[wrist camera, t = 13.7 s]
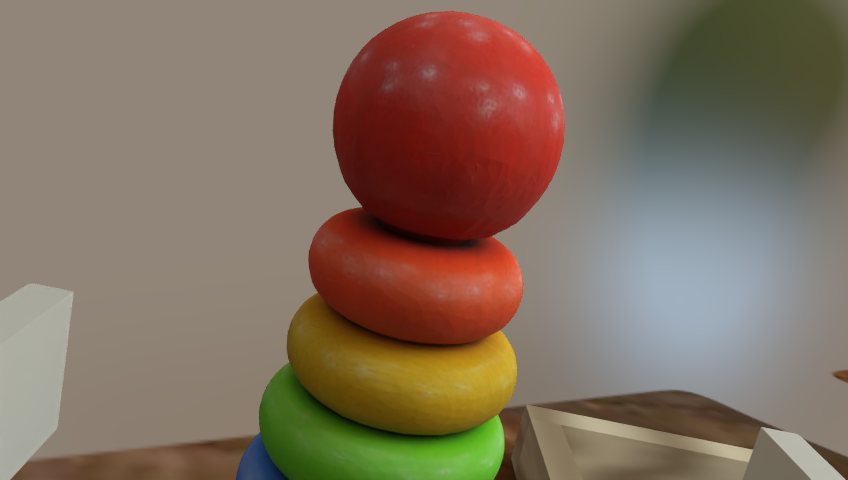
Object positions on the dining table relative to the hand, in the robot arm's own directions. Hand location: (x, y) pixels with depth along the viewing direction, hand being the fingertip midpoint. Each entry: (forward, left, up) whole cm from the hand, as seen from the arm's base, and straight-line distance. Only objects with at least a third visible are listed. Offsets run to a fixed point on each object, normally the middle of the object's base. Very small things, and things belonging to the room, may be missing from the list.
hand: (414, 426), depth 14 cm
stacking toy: (0, +4, -11) cm, 12 cm away
